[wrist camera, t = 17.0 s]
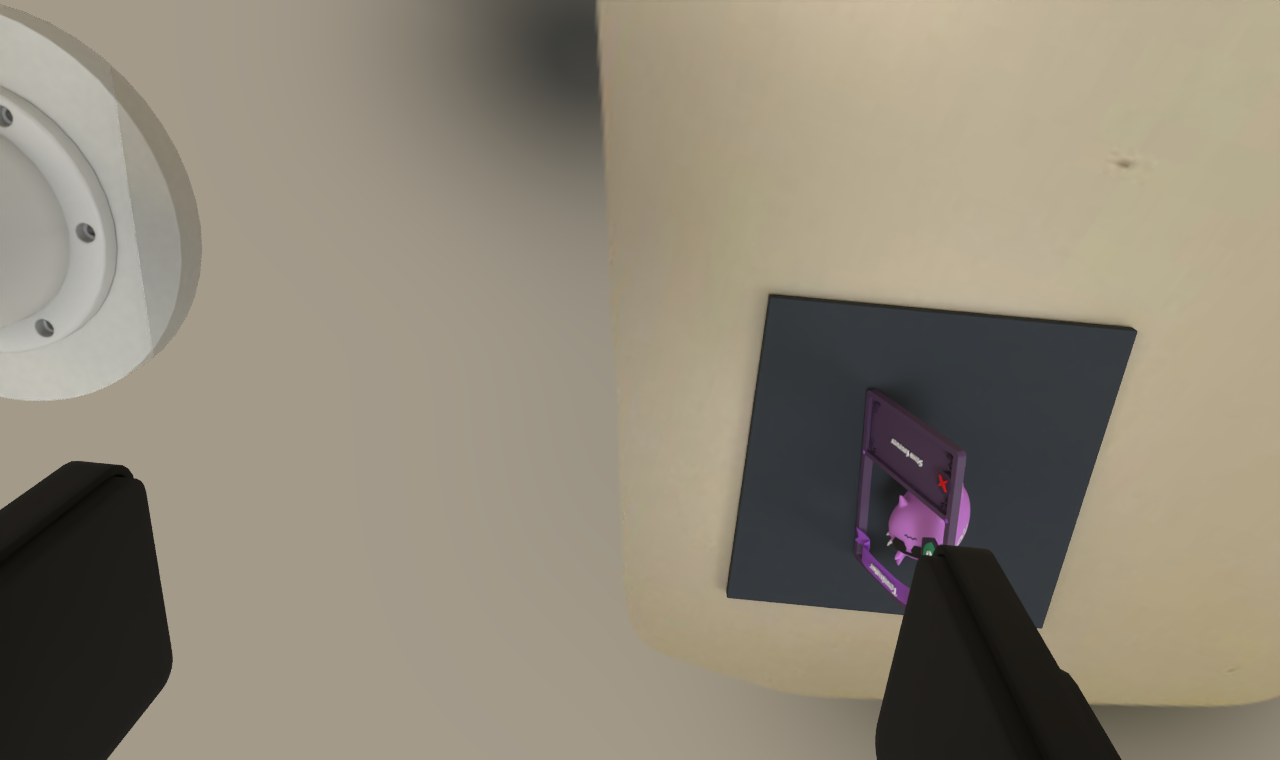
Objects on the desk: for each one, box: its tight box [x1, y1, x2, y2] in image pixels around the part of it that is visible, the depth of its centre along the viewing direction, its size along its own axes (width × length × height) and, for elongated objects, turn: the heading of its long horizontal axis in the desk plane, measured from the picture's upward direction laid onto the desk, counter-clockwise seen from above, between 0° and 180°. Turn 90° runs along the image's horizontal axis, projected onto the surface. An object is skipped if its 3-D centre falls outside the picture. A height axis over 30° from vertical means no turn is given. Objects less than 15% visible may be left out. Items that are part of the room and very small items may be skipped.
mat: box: [727, 295, 1137, 628], centre depth 41 cm, size 16×16×1 cm
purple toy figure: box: [854, 389, 970, 611], centre depth 38 cm, size 7×5×9 cm
